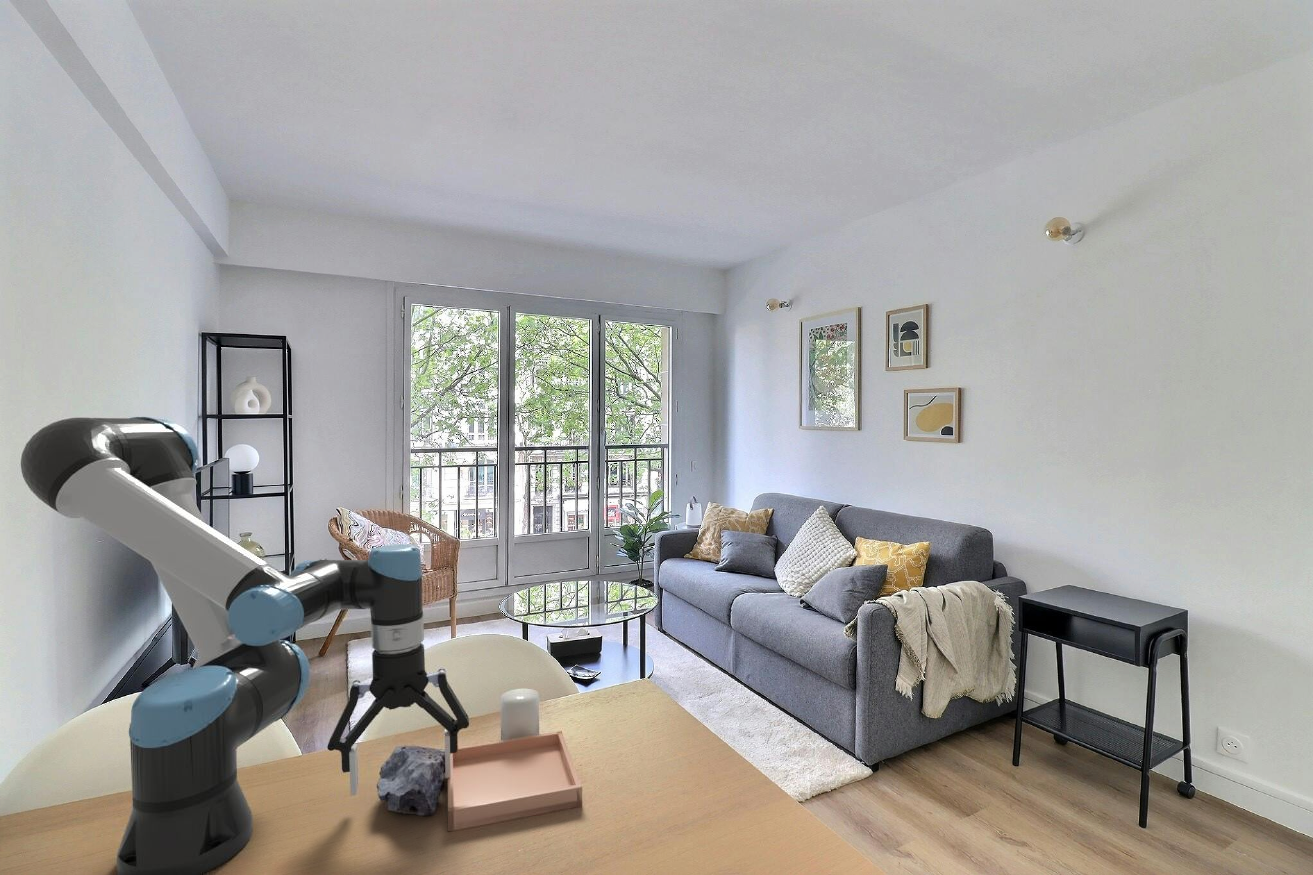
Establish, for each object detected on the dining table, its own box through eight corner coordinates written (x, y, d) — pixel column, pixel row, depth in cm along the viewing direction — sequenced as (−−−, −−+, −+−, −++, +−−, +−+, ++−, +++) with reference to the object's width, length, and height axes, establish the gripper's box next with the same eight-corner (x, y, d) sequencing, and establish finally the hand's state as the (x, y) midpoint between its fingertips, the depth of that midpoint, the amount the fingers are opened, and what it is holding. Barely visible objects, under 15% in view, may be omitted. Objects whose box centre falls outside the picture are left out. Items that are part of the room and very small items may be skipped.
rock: (442, 815, 93) (448, 739, 97) (367, 822, 90) (376, 743, 95) (443, 810, 105) (448, 743, 110) (377, 816, 102) (385, 747, 107)
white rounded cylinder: (502, 750, 115) (502, 706, 115) (499, 732, 122) (499, 691, 121) (541, 744, 117) (541, 701, 117) (536, 727, 124) (536, 686, 124)
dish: (448, 831, 92) (447, 811, 92) (447, 765, 110) (447, 748, 110) (582, 805, 98) (582, 786, 98) (561, 747, 116) (561, 731, 116)
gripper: (302, 666, 92) (308, 812, 92) (483, 643, 100) (487, 777, 100) (312, 649, 99) (317, 785, 99) (480, 629, 107) (483, 755, 107)
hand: (402, 782), depth 100 cm, fingers open, 13 cm apart
